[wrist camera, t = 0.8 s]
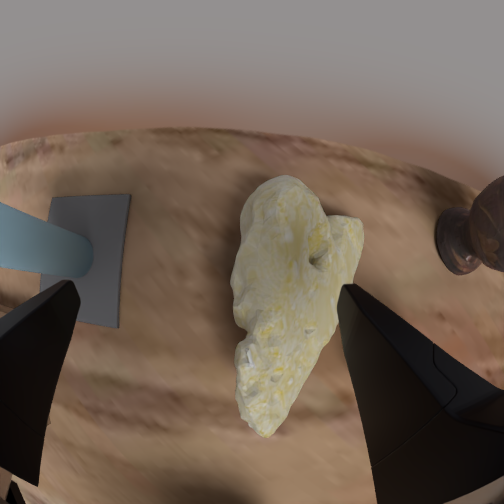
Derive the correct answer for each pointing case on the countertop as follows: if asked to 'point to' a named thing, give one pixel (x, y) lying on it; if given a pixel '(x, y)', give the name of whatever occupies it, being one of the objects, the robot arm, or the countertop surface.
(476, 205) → the mortar and pestle
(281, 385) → the cream lumpy knobby chunk
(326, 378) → the countertop surface
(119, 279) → the mat
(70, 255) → the light blue cylinder
